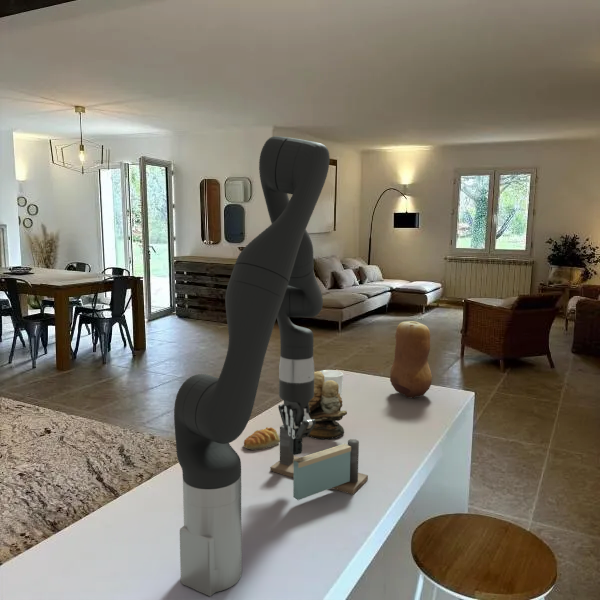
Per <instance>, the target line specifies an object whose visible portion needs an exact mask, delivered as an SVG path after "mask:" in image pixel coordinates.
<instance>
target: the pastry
mask: <svg viewBox="0 0 600 600" xmlns="http://www.w3.org/2000/svg"><path fill="white" fill-rule="evenodd" d="M276 444H277V445H279V444H280V435H279V434H278V433H277V430H276V429H275V428H273V427H265V428H264V429H259V430H255V431H254V432H253V433H251V434H250V435H249V436H248V437H246V438H245V439H244V441H243V448H246V449H249V450H252V451H256V450H255V449H257V450H264V449H263V448H265V449H268V448H271V447H274V446H276ZM270 446H271V447H270ZM267 447H268V448H267Z"/></svg>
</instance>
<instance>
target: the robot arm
mask: <svg viewBox="0 0 600 600" xmlns="http://www.w3.org/2000/svg"><path fill="white" fill-rule="evenodd" d="M258 161H259V162H258V170H259V173H258V174H259V179H260V184H261V188H262V192H263V197H264V202H265V204H266V209H267V212H268V216H269V219H270V222H271V224H270V225H269V226H268V227H267V228H265V229H264V230H262V232H261V233H259V234H258V235H257V236H255V237H254V238H253V239H251V241H250V242H249V243H248V244H247V245H245V247H243V249H242V250H241V252H240V253H239V254H238V256H237V259H236V261H235V262H234V266H233V269H232V272H231V275H230V278H229V280H228V283H227V287H226V291H225V304H224V305H225V313H226V314H225V315H226V322H227V331H228V332H227V333H228V344H227V352H226V355H225V360H224V362H223V364H222V365H223V366H222V369H221V371H220V374H219V376H218V377H217V376H214V375H211V374H205V373H197V374H195V375H191V376H190V377H188V378H187V379H186V380H185V381H184V382H183V383H182V384H181V386H180V387H179V389H178V391H177V394H176V396H175V400H174V405H173V406H174V408H173V409H174V410H173V421H174V424H173V425H174V435H175V436H174V437H175V448H176V449H175V450H176V457H177V460H178V461H177V462H178V464H179V466H180V468H181V472H182V491H183V493H182V494H183V495H182V496H183V500H182V502H183V503H182V504H183V507H182V509H183V525H182V527H180V528H179V558H180V559H179V560H180V561H179V563H180V565H179V566H180V584H181V585H184V586H186V587H188V588H191V589H193V590H195V591H197V592H200V593H202V594H204V595H206V596H208V597H211V596H213V595H214V594H215V593H217V592H221V591H224V590H225V591H226V590H227V589H230V588H231V587H233V586H234V585H236V584H237V583H238V582H239V580H240V579H241V577H242V573H243V572H242V571H243V569H242V567H243V565H242V564H243V563H242V561H243V559H242V558H243V557H242V555H243V554H242V551H243V550H242V547H243V546H242V534H243V533H242V461H241V458H240V455H239V454H238V452H237V451H235V449H234V448H233V447H232V445H231V444H230V443H232V442H234V441H236V440H237V439H238V438H239V437H240V436H241V435H242V434H243V432H244V430H245V429H246V427H247V425H248V423H249V421H250V418H251V415H252V413H253V408H254V405H255V400H256V397H257V392H258V387H259V382H260V378H261V373H262V369H263V365H264V361H265V358H266V357H265V356H266V353H267V350H268V346H269V343H270V341H271V340H270V339H271V337H272V334H273V330H274V326H275V324H276V320H277V324H278V329H279V330H278V331H279V336H280V352H279V353H280V358H279V364H278V365H279V368H278V397H279V398H280V400H283V404H279V405H278V407H277V408H278V411H279V415H280V419H281V422H282V425H284V429H285V431H288V435H289V436H290V452H291V453H292V454H294V456H296V455H301V454H302V453H303V439H305V438H309V437H308V436H309V434H310V433H311V431H312V429H313V428H314V426H315V424H316V421H315V419H312V420H311V418H310V416H309V412H310V409H309V404H308V403H309V401H310V400H311V399H312V398H313V397H314V372H315V362H314V361H315V360H314V333H313V331H312V330H311V329H309V328H307V327H303V326H299V325H296V324H295V323H293V322H292V321H291V319H290V318H315V317H316V316H318V315H319V314H320V313H321V312H322V309H323V305H324V304H323V303H324V299H323V294H322V290H321V289H320V285H319V283H318V281H317V278H316V275H315V271H314V268H315V267H314V266H315V265H314V264H315V263H314V246H313V243H312V240H311V236H310V234H309V233H308V231H307V227H308V224H309V222H310V220H311V217H312V215H313V213H314V211H315V208H316V205H317V202H318V200H319V198H320V196H321V193H322V191H323V188H324V185H325V183H326V180H327V177H328V173H329V168H330V161H331V160H330V151H329V149H328V148H327V146H326V145H325V144H323V143H320V142H317V141H312V140H307V139H306V140H305V139H300V138H295V137H288V136H280V135H275V136H271V137H269V138H268V139H267V140H266V141H265V142H264V144H263V145H262V148H261V150H260V153H259V160H258ZM289 195H291V197H289Z"/></svg>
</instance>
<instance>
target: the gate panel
mask: <svg viewBox="0 0 600 600" xmlns="http://www.w3.org/2000/svg"><path fill="white" fill-rule="evenodd" d="M350 452H351V446H349V445H348V443H343V444H342V443H341V444H340V445H336V446H333V447H330V448H326V449H324V450H323V449H322V450H320V451H317V452H313V453H310V454H307V455H305V456H301V457H300V456H299V457H300V458H297V459H294V460H293V465H294V478H293V477H292V478H293V480H292V481H293V486H292V487H293V491H292V492H293V494H292V496H293V498H294V499H295V500H297V501H300V500H303V499H305V498H309V497H310V496H314V495H316V494H319V493H321V492H324V491H327V490H330V489H332V488H333V487H336V486H338V485H341V484H344V483H346V482H349V481H350Z"/></svg>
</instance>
